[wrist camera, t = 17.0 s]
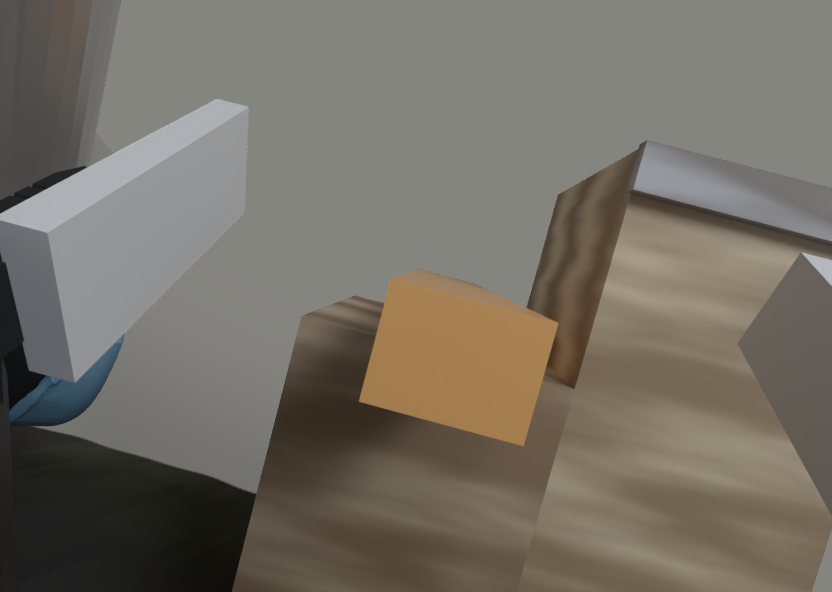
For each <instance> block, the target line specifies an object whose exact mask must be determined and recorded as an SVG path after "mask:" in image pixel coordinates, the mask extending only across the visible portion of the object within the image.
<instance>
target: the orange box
mask: <svg viewBox="0 0 832 592" xmlns="http://www.w3.org/2000/svg"><path fill="white" fill-rule="evenodd" d="M557 327H558V322H555V321H553V320H551V319H549V318H547V317H545V316H543V315H540V314H538V313H536V312H534V311H532V310H530V309H528V308H525V307H523V306H521V305H519V304H517V303H515V302H513V301H511V300H508V299H506V298H504V297H502V296H500V295H498V294H496V293H493V292H491V291H489V290H487V289H485V288H483V287H481V286H478V285H476V284H473V283H469V282H465V281H461V280H458V279H454V278H450V277H447V276H443V275H439V274H435V273H432V272H428V271H424V270H417V271H414V272H410V273H407V274H404V275H400V276H397V277H394V278H391V281H390V284H389V288H388V292H387V296H386V300H385V303H384V307H383V311H382V315H381V319H380V322H379V326H378V330H377V334H376V338H375V341H374V345H373V349H372V353H371V357H370V361H369V364H368V368H367V372H366V376H365V380H364V383H363V387H362V391H361V395H360V399H359V402H362V403H366V404H369V405H373V406H377V407H380V408H384V409H388V410H391V411H395V412H399V413H402V414H406V415H410V416H414V417H417V418H421V419H425V420H428V421H432V422H436V423H439V424H443V425H447V426H450V427H454V428H458V429H462V430H465V431H469V432H473V433H476V434H480V435H484V436H487V437H491V438H495V439H498V440H502V441H506V442H510V443H513V444H517V445H521V446H524V443H525V440H526V436H527V433H528V429H529V426H530V422H531V419H532V415H533V412H534V408H535V404H536V401H537V397H538V394H539V390H540V387H541V383H542V380H543V376H544V373H545V369H546V366H547V362H548V359H549V355H550V351H551V348H552V344H553V341H554V337H555V334H556V330H557Z"/></svg>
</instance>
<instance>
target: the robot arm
mask: <svg viewBox="0 0 832 592" xmlns="http://www.w3.org/2000/svg"><path fill="white" fill-rule="evenodd" d="M120 3H121V0H0V592H19V577H18V559H17V542H16V524H15V506H14V488H13V470H12V453H11V435H10V426H55V425H59V424H63V423H66V422H68V421H70V420H72V419H74V418H76V417H78V416H79V415H80V414H81V413H83V412H84V411H85V410H86V409H87V408H88V407H89V406H90V405H91V404H92V402H93V401H94V400H95V398H96V397H97V395H98V393H99V392H100V391H101V389H102V387H103V385H104V384H105V382H106V379H107V378H108V375H109V373H110V371H111V369H112V367H113V365H114V363H115V361H116V358H117V356H118V353H119V350H120V348H121V345H122V342H123V339H124V333H125V332H126V331H127V330H128V329H129V328H130V327H131V326H132V325H133V324H134V323H135V322H136V321H137V320H138V319H139V318H140V317H141V316H142V315H143V314H144V313H145V312H146V311H147V310H148V309H149V308H150V307H151V306H152V305H153V304H154V303H155V302H156V301H157V300H158V299H159V298H160V297H161V296H162V295H163V294H164V293H165V292H166V291H167V290H168V289H169V288H170V287H171V286H172V285H173V284H174V283H175V282H176V281H177V280H178V279H179V278H180V277H181V276H182V275H183V274H184V273H185V272H186V271H187V270H188V269H189V268H190V267H191V266H192V265H193V264H194V263H195V262H196V261H197V260H198V259H199V258H200V257H201V256H202V255H203V254H204V253H205V252H206V251H207V250H208V249H209V248H210V247H211V246H212V245H213V244H214V243H215V242H216V241H217V240H218V239H219V238H220V237H221V236H222V235H223V234H224V233H225V232H226V231H227V230H228V229H229V228H230V227H231V226H232V225H233V224H234V223H235V222H236V221H237V220H238V219H239V218H240V217H241V216H242V215H243V214H244V213H245V187H246V165H247V164H246V163H247V141H248V140H247V139H248V117H249V107H246V106H243V105H239V104H235V103H231V102H227V101H224V100H220V99H216V100H214V101H212V102H210V103H208V104H206V105H204V106H202V107H201V108H199V109H197V110H195V111H193V112H191V113H189V114H187V115H186V116H184V117H182V118H180V119H178V120H176V121H174V122H172V123H170V124H169V125H167V126H165V127H163V128H161V129H159V130H158V131H155V132H153V133H152V134H150V135H148V136H146V137H144V138H142V139H140V140H138V141H136V142H135V143H133V144H131V145H129V146H127V147H125V148H123V149H122V150H119V151H118V152H116V153H114V154H113V153H112V152H111V150H110V149H109V147H108V146H107V144H106V143H105V142H104V141H103V140H102V139H101V138H100V137H99V136H98V135H97V134H96V128H97V123H98V117H99V113H100V107H101V102H102V97H103V92H104V87H105V81H106V76H107V71H108V66H109V60H110V55H111V50H112V45H113V40H114V34H115V29H116V24H117V18H118V14H119V8H120ZM737 344H738V346H739V347H740V349H741V351H742V353H743V355H744V357H745V358H746V360H747V362H748V364H749V366H750V368H751V369H752V371H753V373H754V375H755V377H756V379H757V380H758V382H759V384H760V386H761V388H762V390H763V391H764V393H765V395H766V397H767V399H768V401H769V402H770V404H771V406H772V408H773V410H774V412H775V413H776V415H777V417H778V419H779V421H780V423H781V424H782V426H783V428H784V430H785V432H786V434H787V435H788V437H789V439H790V441H791V443H792V444H793V446H794V448H795V450H796V452H797V454H798V455H799V457H800V459H801V461H802V463H803V465H804V466H805V468H806V470H807V472H808V474H809V476H810V477H811V479H812V481H813V483H814V485H815V487H816V488H817V490H818V492H819V494H820V496H821V498H822V499H823V501H824V503H825V505H826V507H827V509H828V510H829V512H830V514H831V516H832V260H829V259H825V258H821V257H817V256H813V255H810V254H806V253H802V252H801V253H800V254H799V256H798V257H797V259H796V260H795V261H794V263H793V264H792V266H791V267H790V269H789V270H788V271H787V273H786V274H785V276H784V277H783V279H782V280H781V282H780V283H779V284H778V286H777V287H776V289H775V290H774V292H773V293H772V294H771V296H770V297H769V299H768V300H767V302H766V303H765V305H764V306H763V307H762V309H761V310H760V312H759V313H758V315H757V316H756V317H755V319H754V320H753V322H752V323H751V325H750V326H749V328H748V329H747V330H746V332H745V333H744V335H743V336H742V338H741V339H740V340H739V342H738V343H737Z"/></svg>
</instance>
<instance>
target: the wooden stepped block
mask: <svg viewBox="0 0 832 592" xmlns="http://www.w3.org/2000/svg"><path fill="white" fill-rule="evenodd" d="M801 252H802V253H806V254H810V255H813V256H817V257H821V258H825V259H829V260H832V188H830V187H825V186H822V185H818V184H814V183H810V182H807V181H803V180H799V179H795V178H791V177H787V176H784V175H780V174H776V173H772V172H768V171H764V170H760V169H757V168H752V167H749V166H745V165H741V164H737V163H733V162H729V161H726V160H722V159H718V158H714V157H710V156H706V155H702V154H699V153H694V152H691V151H687V150H683V149H680V148H676V147H672V146H668V145H664V144H660V143H656V142H653V141H648V140H647V141H645V142H643V143H642V144H640V146H639V149H638V150H636V151H634V152H633V153H631V154H629V155H627V156H626V157H624V158H622V159H621V160H619V161H617V162H615V163H614V164H611V165H610V166H608V167H607V168H604V169H603V170H601V171H599V172H597V173H596V174H594V175H592V176H590V177H589V178H587V179H585V180H583V181H582V182H580V183H578V184H576V185H574V186H573V187H571V188H569V189H568V190H566V191H564V192H562V193H560V194H559V195H558V198H557V201H556V204H555V208H554V211H553V215H552V219H551V223H550V226H549V229H548V233H547V237H546V240H545V244H544V247H543V251H542V255H541V258H540V262H539V265H538V269H537V273H536V276H535V280H534V283H533V287H532V290H531V294H530V298H529V301H528V305H527V308H528V309H530V310H532V311H534V312H536V313H538V314H540V315H543V316H545V317H547V318H549V319H551V320H553V321H555V322H558V327H557V330H556V334H555V337H554V341H553V344H552V348H551V351H550V355H549V359H548V362H547V366H546V369H545V373H544V376H543V380H542V383H541V387H540V390H539V394H538V397H537V401H536V404H535V408H534V412H533V415H532V419H531V422H530V426H529V429H528V433H527V436H526V440H525V443H524V446H521V445H517V444H513V443H510V442H506V441H502V440H498V439H495V438H491V437H487V436H484V435H480V434H476V433H473V432H469V431H465V430H462V429H458V428H454V427H450V426H447V425H443V424H439V423H436V422H432V421H428V420H425V419H421V418H417V417H414V416H410V415H406V414H402V413H399V412H395V411H391V410H388V409H384V408H380V407H377V406H373V405H369V404H366V403H362V402H359V399H360V395H361V391H362V387H363V383H364V380H365V376H366V372H367V368H368V364H369V361H370V357H371V353H372V349H373V345H374V341H375V338H376V334H377V330H378V326H379V322H380V319H381V315H382V311H383V307H384V303H381V302H377V301H374V300H370V299H366V298H362V297H358V296H352V297H350V298H347V299H345V300H342V301H339V302H337V303H334V304H332V305H329V306H326V307H324V308H321V309H319V310H316V311H313V312H311V313H308V314H306V315H303V316H302V317H301V320H300V324H299V328H298V332H297V336H296V340H295V344H294V348H293V352H292V356H291V360H290V364H289V368H288V372H287V376H286V380H285V384H284V388H283V392H282V395H281V399H280V404H279V407H278V411H277V415H276V419H275V423H274V427H273V431H272V435H271V439H270V443H269V447H268V451H267V455H266V459H265V463H264V467H263V471H262V475H261V479H260V483H259V486H258V490H257V494H256V498H255V502H254V506H253V510H252V514H251V518H250V522H249V526H248V530H247V534H246V538H245V542H244V546H243V550H242V554H241V558H240V562H239V566H238V569H237V573H236V577H235V581H234V585H233V589H232V592H811V591H812V588H813V585H814V582H815V579H816V576H817V573H818V570H819V566H820V564H821V560H822V557H823V554H824V551H825V548H826V545H827V542H828V539H829V536H830V533H831V530H832V516H831V514H830V512H829V510H828V509H827V507H826V505H825V503H824V501H823V499H822V498H821V496H820V494H819V492H818V490H817V488H816V487H815V485H814V483H813V481H812V479H811V477H810V476H809V474H808V472H807V470H806V468H805V466H804V465H803V463H802V461H801V459H800V457H799V455H798V454H797V452H796V450H795V448H794V446H793V444H792V443H791V441H790V439H789V437H788V435H787V434H786V432H785V430H784V428H783V426H782V424H781V423H780V421H779V419H778V417H777V415H776V413H775V412H774V410H773V408H772V406H771V404H770V402H769V401H768V399H767V397H766V395H765V393H764V391H763V390H762V388H761V386H760V384H759V382H758V380H757V379H756V377H755V375H754V373H753V371H752V369H751V368H750V366H749V364H748V362H747V360H746V358H745V357H744V355H743V353H742V351H741V349H740V347H739V346H738V344H737V343H738V342H739V340H740V339H741V338H742V336H743V335H744V333H745V332H746V330H747V329H748V328H749V326H750V325H751V323H752V322H753V320H754V319H755V317H756V316H757V315H758V313H759V312H760V310H761V309H762V307H763V306H764V305H765V303H766V302H767V300H768V299H769V297H770V296H771V294H772V293H773V292H774V290H775V289H776V287H777V286H778V284H779V283H780V282H781V280H782V279H783V277H784V276H785V274H786V273H787V271H788V270H789V269H790V267H791V266H792V264H793V263H794V261H795V260H796V259H797V257H798V256H799V254H800V253H801Z"/></svg>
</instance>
